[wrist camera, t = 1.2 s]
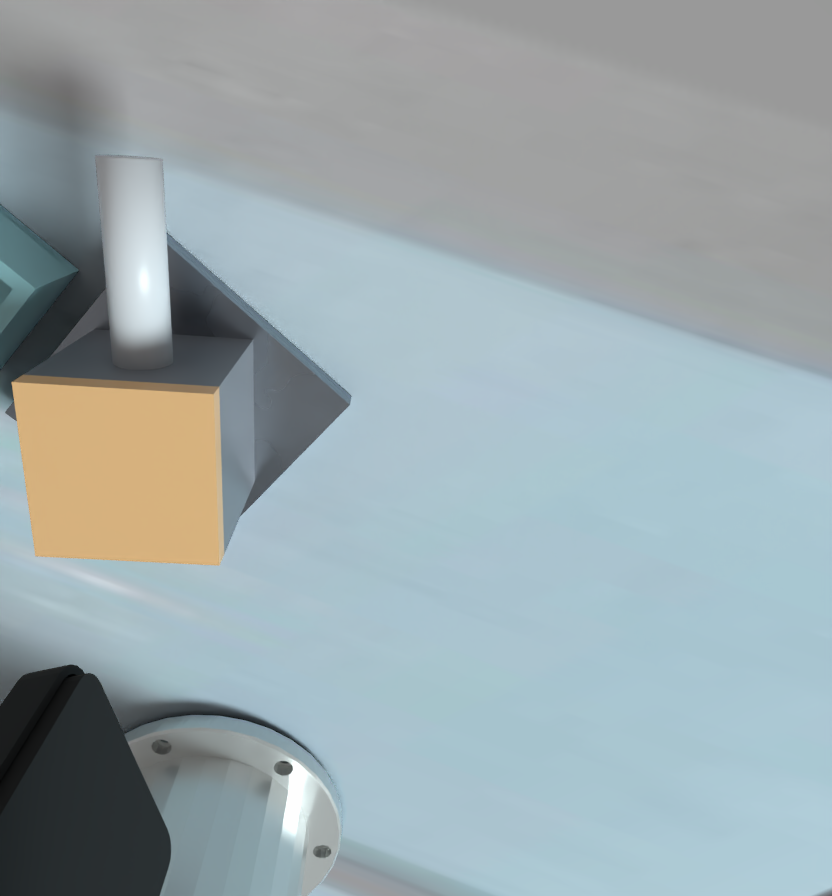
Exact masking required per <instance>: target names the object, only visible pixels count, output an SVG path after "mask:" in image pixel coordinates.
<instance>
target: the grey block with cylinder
mask: <svg viewBox="0 0 832 896" xmlns="http://www.w3.org/2000/svg"><path fill="white" fill-rule="evenodd" d="M95 161H96V173H97V185H98V197H99V209H100V221H101V232H102V244H103V256H104V268H105V280H106V292H107V304H108V315H109V327H110V330H96V329H94V330H92V331H91V332H89V333H88V334H86V335H85V336H83V337H81V338H80V339H78V340H77V341H75V342H74V343H72V344H70V345H69V346H67V347H66V348H64V349H63V350H61V351H59V352H58V353H56V354H55V355H53V356H52V357H50V358H48V359H47V360H45V361H44V362H42V363H41V364H39V365H38V366H36V367H34V368H33V369H31V370H30V371H28V372H27V373H25V374H23V375H22V376H20V377H19V378H17V379H16V380H14V381H12V389H13V396H14V404H15V411H16V418H17V425H18V433H19V440H20V447H21V454H22V462H23V469H24V476H25V483H26V491H27V498H28V505H29V512H30V520H31V527H32V534H33V542H34V549H35V556H41V557H61V558H81V559H101V560H121V561H141V562H160V563H180V564H200V565H220V563H221V560H222V558H223V556H224V553H225V551H226V548H227V546H228V544H229V541H230V539H231V537H232V534H233V532H234V529H235V527H236V525H237V522H238V520H239V518H240V515H241V513H242V510H243V508H244V506H245V503H246V501H247V499H248V496H249V494H250V491H251V489H252V487H253V484H254V482H255V459H254V373H253V339H238V338H223V337H207V336H191V335H175V334H172V327H171V308H170V289H169V270H168V251H167V233H166V214H165V195H164V176H163V159H159V158H150V157H138V156H121V155H95Z"/></svg>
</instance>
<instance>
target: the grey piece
mask: <svg viewBox="0 0 832 896" xmlns="http://www.w3.org/2000/svg"><path fill="white" fill-rule="evenodd" d="M167 251H168V270H169V289H170V308H171V327H172V334H175V335H191V336H207V337H223V338H238V339H253V373H254V459H255V482H254V484H253V487H252V489H251V491H250V494H249V496H248V499H247V501H246V503H245V506H244V508H243V510H242V513H241V515H242V514H243V513H244V512H245V511H246V510H247V509H248V508H249V507H250V506H251V505H252V504H253V503H254V502H255V501H256V500H257V499H258V498H259V497H260V496H261V495H262V494H263V493H264V492H265V491H266V490H267V489H268V488H269V487H270V486H271V484H272V483H273V482H274V481H275V480H276V479H277V478H278V477H279V476H280V475H281V474H282V473H283V472H284V471H285V470H286V469H287V468H288V467H289V466H290V465H291V464H292V463H293V462H294V461H295V460H296V459H297V458H298V457H299V456H300V455H301V454H302V453H303V452H304V451H305V450H306V449H307V448H308V447H309V446H310V445H311V444H312V443H313V442H314V441H315V440H316V439H317V438H318V437H319V436H320V435H321V434H322V433H323V431H324V430H325V429H326V428H327V427H328V426H329V425H330V424H331V423H332V422H333V421H334V420H335V419H336V418H337V417H338V416H339V415H340V414H341V413H342V412H343V411H344V410H345V409H346V408H347V407H348V406H349V405H350V401H351V395H350V394H349V393H347V392H346V391H345V390H344V389H343V388H342V387H341V386H340V385H338V384H337V383H336V382H335V381H334V380H333V379H332V378H330V377H329V376H328V375H327V374H326V373H325V372H324V371H323V370H321V369H320V368H319V367H318V366H317V365H316V364H315V363H314V362H312V361H311V360H310V359H309V358H308V357H307V356H306V355H304V354H303V353H302V352H301V351H300V350H299V349H298V348H297V347H295V346H294V345H293V344H292V343H291V342H290V341H289V340H287V339H286V338H285V337H284V336H283V335H282V334H281V333H280V332H278V331H277V330H276V329H275V328H274V327H273V326H272V325H270V324H269V323H268V322H267V321H266V320H265V319H264V318H263V317H261V316H260V315H259V314H258V313H257V312H256V311H255V310H253V309H252V308H251V307H250V306H249V305H248V304H247V303H246V302H244V301H243V300H242V299H241V298H240V297H239V296H238V295H237V294H235V293H234V292H233V291H232V290H231V289H230V288H229V287H227V286H226V285H225V284H224V283H223V282H222V281H221V280H220V279H218V278H217V277H216V276H215V275H214V274H213V273H212V272H210V271H209V270H208V269H207V268H206V267H205V266H204V265H203V264H201V263H200V262H199V261H198V260H197V259H196V258H195V257H193V256H192V255H191V254H190V253H189V252H188V251H187V250H186V249H184V248H183V247H182V246H181V245H180V244H179V243H178V242H177V241H175V240H174V239H173V238H172V237H171V236H170V235H169V234H167ZM94 329H96V330H110V327H109V315H108V304H107V292H106V288H105V290H104V291H103V292H102V293H101V295H100V296H99V297H98V298H97V299H96V301H95V302H94V303H93V304H92V306H91V307H90V308H89V309H88V311H87V312H86V313H85V314H84V316H83V317H82V318H81V319H80V320H79V322H78V323H77V324H76V325H75V327H74V328H73V329H72V330H71V332H70V333H69V334H68V335H67V336H66V338H65V339H64V340H63V341H62V343H61V344H60V345H59V346H58V348H57V349H56V350H55V351H54V353H53V354H52V355H51V356H50V357H52V356H53V355H55V354H56V353H58V352H59V351H61V350H63V349H64V348H66V347H67V346H69V345H70V344H72V343H74V342H75V341H77V340H78V339H80V338H81V337H83V336H85V335H86V334H88V333H89V332H91V331H92V330H94ZM50 357H49V358H50ZM5 413H6V414H8V415H9V416H10V417H12V418H13V419H14V420H16V421H17V418H16V411H15V404H14V402H13V403H12V404H11V406H10V407H9V408H8V409H7V411H6V412H5ZM241 515H240V516H241Z"/></svg>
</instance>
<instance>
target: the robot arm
mask: <svg viewBox="0 0 832 896" xmlns="http://www.w3.org/2000/svg"><path fill="white" fill-rule="evenodd" d="M341 833H342V807H341V803H340V800H339V797H338V793H337V790H336V788H335V786H334V784H333V783H332V781H331V779H330V777H329V776H328V774H327V772H326V771H325V770H324V768H323V767H322V766H321V765H320V764H319V763H318V762H317V761H316V760H315V758H314V757H313V756H312V755H311V754H310V753H308V752H307V751H306V750H304V749H303V748H302V747H300V746H299V745H298V744H296V743H295V742H294V741H293V740H291V739H289V738H287V737H285V736H283V735H281V734H279V733H277V732H275V731H274V730H272V729H269V728H267V727H264V726H261V725H258V724H255V723H252V722H249V721H246V720H241V719H235V718H230V717H224V716H215V715H187V716H179V717H171V718H165V719H161V720H158V721H155V722H151V723H148V724H144V725H142V726H140V727H138V728H135V729H133V730H131V731H129V732H127V733H125V734H124V733H123V731H122V729H121V727H120V725H119V723H118V720H117V718H116V716H115V714H114V712H113V709H112V707H111V705H110V703H109V701H108V699H107V696H106V694H105V692H104V690H103V688H102V686H101V683H100V682H99V680H98V678H97V677H96V676H95V675H93V674H90V673H87V674H85V673H84V672H83V670H82V669H80V668H79V667H78V666H76V665H67V666H62V667H57V668H52V669H47V670H42V671H37V672H32V673H29V674H26V675H23V676H22V677H21V678H20V679H19V680H18V682H17V683H16V684H15V686H14V687H13V689H12V690H11V691H10V693H9V694H8V696H7V697H6V699H5V700H4V701H3V703H2V704H1V706H0V896H307V895H309V894H310V893H311V892H312V891H313V890H314V889H315V888H316V887H317V886H318V885H319V884H320V883H321V882H323V880H324V879H325V877H326V876H327V874H328V873H329V871H330V870H331V868H332V867H333V865H334V863H335V860H336V857H337V854H338V852H339V849H340V842H341Z"/></svg>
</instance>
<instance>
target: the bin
mask: <svg viewBox="0 0 832 896" xmlns="http://www.w3.org/2000/svg"><path fill="white" fill-rule="evenodd" d="M78 271H79V270H78V269H77V268H76V267H75V266H73V265H72V264H71V263H70V262H69V261H67V260H66V259H65V258H64V257H63V256H61V255H60V254H59V253H58V252H57V251H55V250H54V249H53V248H52V247H51V246H49V245H48V244H47V243H46V242H45V241H43V240H42V239H41V238H40V237H39V236H37V235H36V234H35V233H34V232H33V231H31V230H30V229H29V228H28V227H27V226H25V225H24V224H23V223H22V222H21V221H19V220H18V219H17V218H16V217H15V216H13V215H12V214H11V213H10V212H9V211H7V210H6V209H5V208H4V207H3V206H1V205H0V370H1V368H2V367H3V366H4V364H5V363H6V362H7V361H8V359H9V358H10V357H11V356H12V354H13V353H14V352H15V351H16V349H17V348H18V347H19V346H20V344H21V343H22V342H23V340H24V339H25V338H26V337H27V335H28V334H29V333H30V332H31V330H32V329H33V328H34V327H35V325H36V324H37V323H38V322H39V320H40V319H41V318H42V316H43V315H44V314H45V313H46V311H47V310H48V309H49V308H50V306H51V305H52V304H53V303H54V301H55V300H56V299H57V297H58V296H59V295H60V294H61V292H62V291H63V290H64V289H65V287H66V286H67V285H68V284H69V282H70V281H71V280H72V279H73V277H74V276H75V275H76V273H77V272H78Z"/></svg>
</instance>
